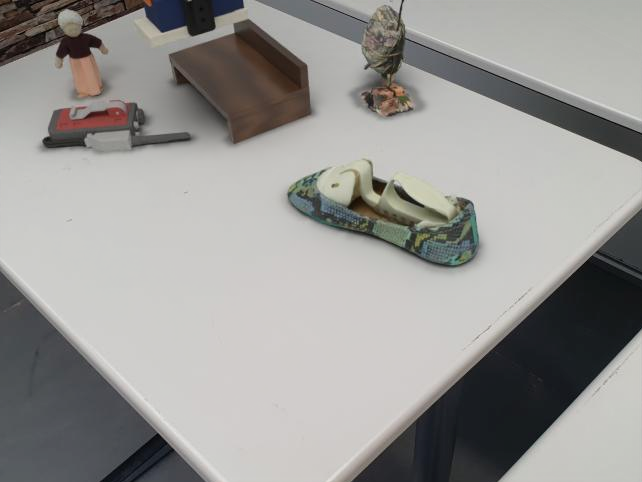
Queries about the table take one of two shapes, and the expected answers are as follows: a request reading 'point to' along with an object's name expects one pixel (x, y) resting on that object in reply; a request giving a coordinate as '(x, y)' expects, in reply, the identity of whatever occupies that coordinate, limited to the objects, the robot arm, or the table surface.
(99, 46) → the grandmother figurine
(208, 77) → the shoe shelf
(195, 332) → the table surface
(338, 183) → the ballet flat
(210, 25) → the robot arm
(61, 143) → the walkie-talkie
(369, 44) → the plant with pod
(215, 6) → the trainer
